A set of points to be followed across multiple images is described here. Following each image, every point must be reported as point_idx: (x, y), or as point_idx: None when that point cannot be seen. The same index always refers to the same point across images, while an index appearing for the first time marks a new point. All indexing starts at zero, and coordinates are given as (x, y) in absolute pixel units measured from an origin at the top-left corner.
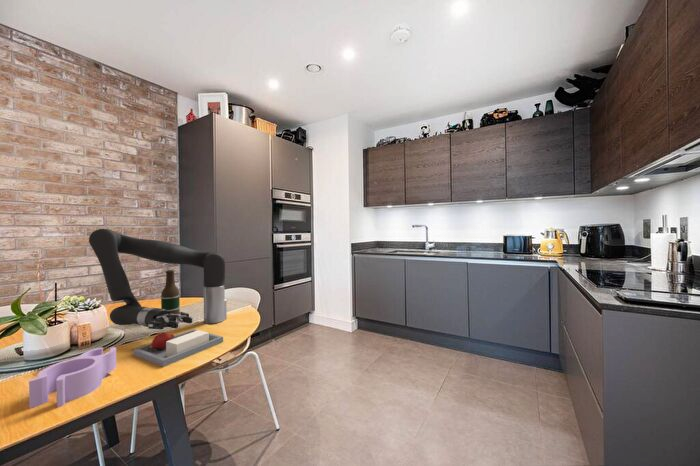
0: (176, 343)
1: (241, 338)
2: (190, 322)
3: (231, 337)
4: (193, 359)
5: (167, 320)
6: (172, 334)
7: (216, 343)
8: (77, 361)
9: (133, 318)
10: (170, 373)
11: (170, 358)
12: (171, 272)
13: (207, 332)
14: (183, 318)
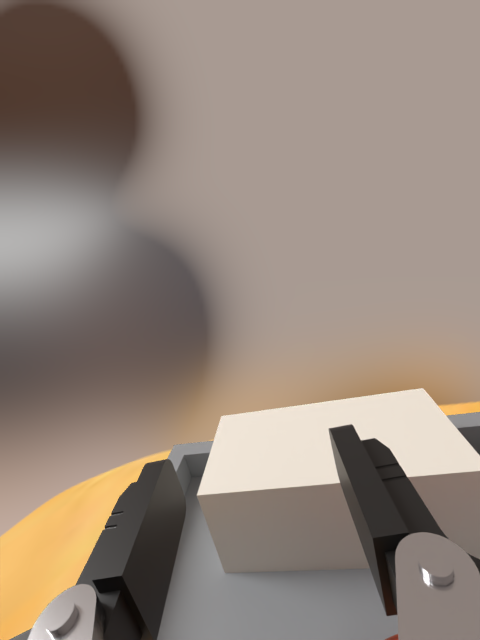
0: (421, 398)
1: (111, 470)
2: (183, 498)
3: (91, 517)
4: None
5: (436, 619)
6: (391, 638)
7: None
8: None
9: None
10: (476, 411)
11: (469, 416)
12: None
13: (221, 422)
14: (120, 619)
